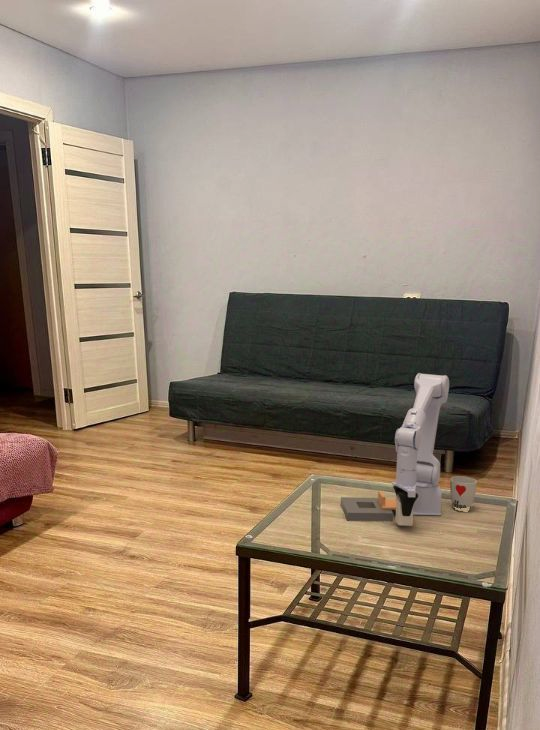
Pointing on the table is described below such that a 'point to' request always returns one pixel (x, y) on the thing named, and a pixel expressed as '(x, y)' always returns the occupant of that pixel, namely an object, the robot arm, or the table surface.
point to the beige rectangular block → (399, 517)
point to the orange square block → (386, 502)
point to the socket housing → (364, 509)
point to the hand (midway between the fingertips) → (404, 512)
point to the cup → (462, 491)
